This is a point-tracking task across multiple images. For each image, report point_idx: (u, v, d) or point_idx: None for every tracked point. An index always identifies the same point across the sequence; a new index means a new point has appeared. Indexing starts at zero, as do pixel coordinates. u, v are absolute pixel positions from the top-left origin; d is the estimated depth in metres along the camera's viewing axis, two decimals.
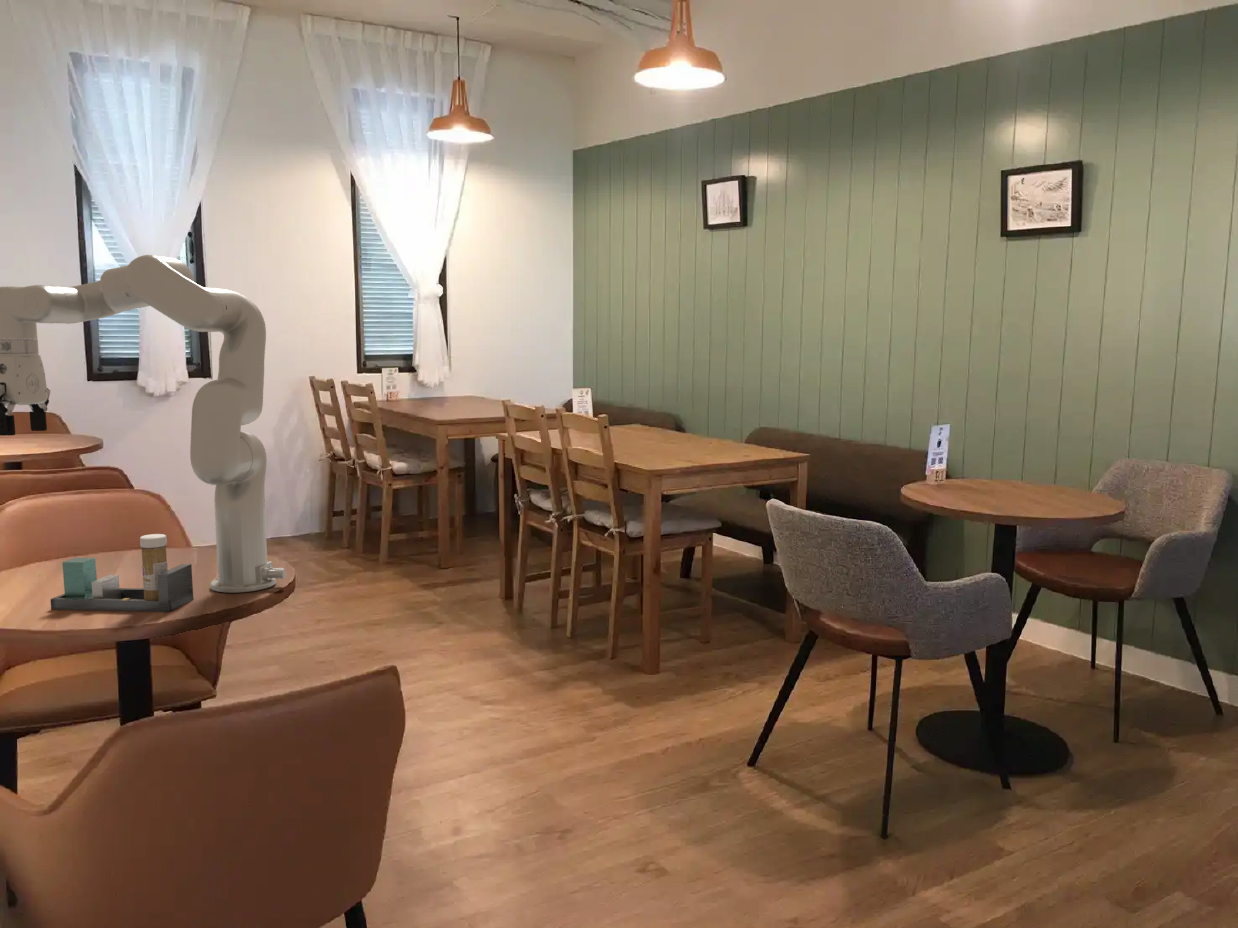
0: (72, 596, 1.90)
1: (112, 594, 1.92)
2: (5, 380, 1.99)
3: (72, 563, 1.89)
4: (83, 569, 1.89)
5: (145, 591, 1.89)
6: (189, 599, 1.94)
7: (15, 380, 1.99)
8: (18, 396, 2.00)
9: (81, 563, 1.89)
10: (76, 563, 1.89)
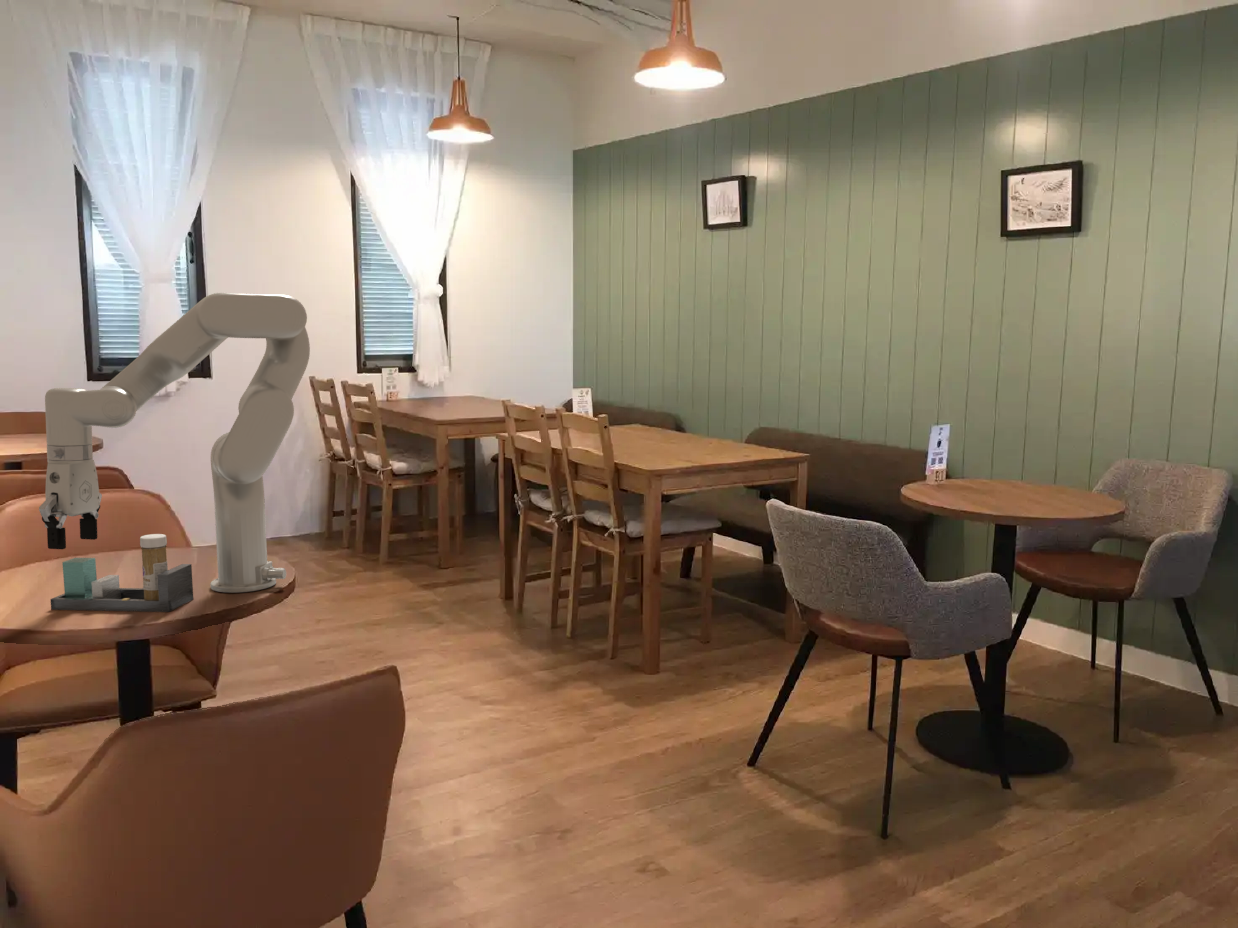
0: (72, 596, 1.90)
1: (112, 594, 1.92)
2: (57, 490, 1.84)
3: (72, 563, 1.89)
4: (83, 569, 1.89)
5: (145, 591, 1.89)
6: (189, 599, 1.94)
7: (68, 490, 1.85)
8: (70, 507, 1.85)
9: (81, 563, 1.89)
10: (76, 563, 1.89)
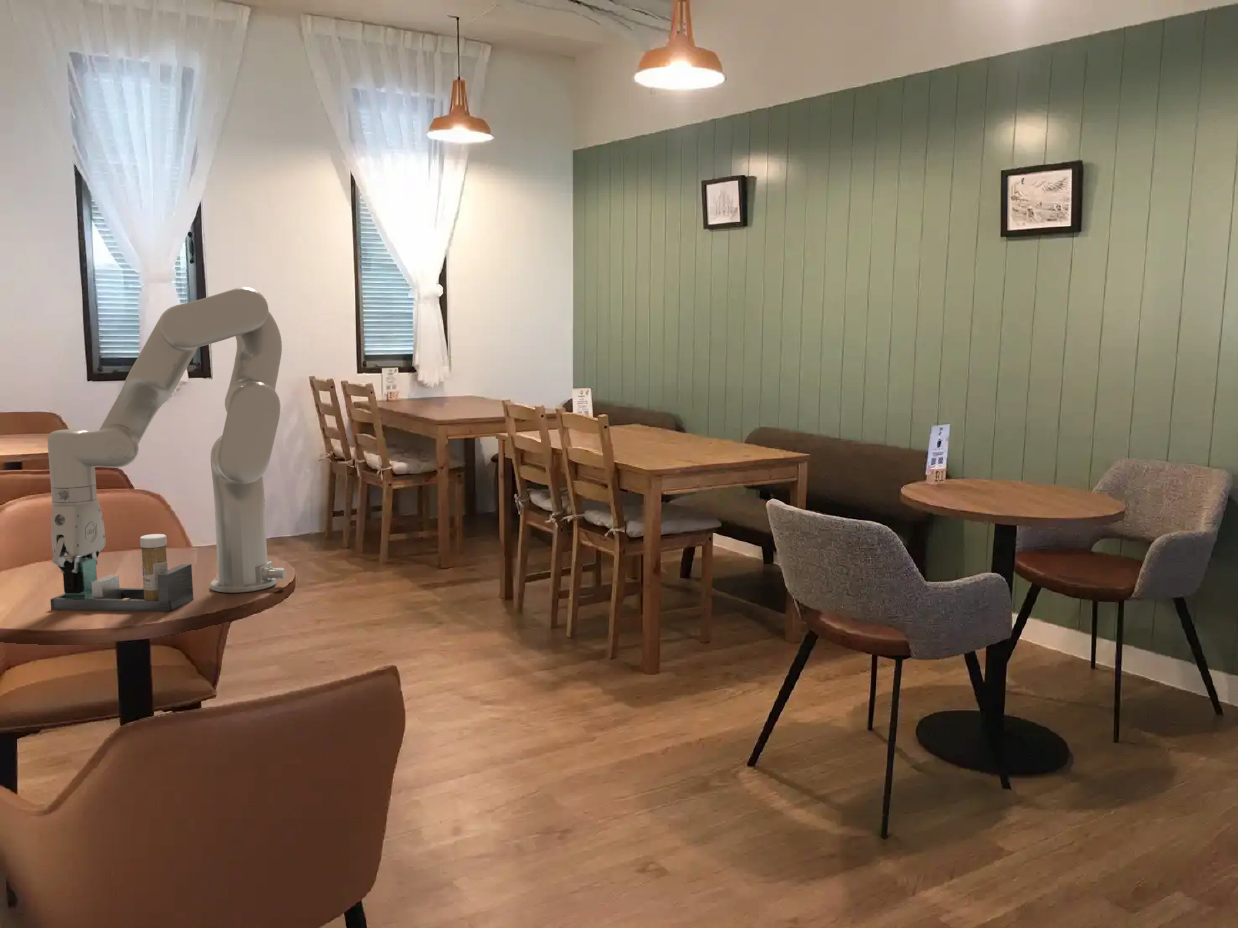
0: (72, 596, 1.90)
1: (112, 594, 1.92)
2: (63, 532, 1.85)
3: None
4: (83, 569, 1.89)
5: (145, 591, 1.89)
6: (189, 599, 1.94)
7: (74, 532, 1.86)
8: (77, 548, 1.86)
9: (81, 563, 1.89)
10: None
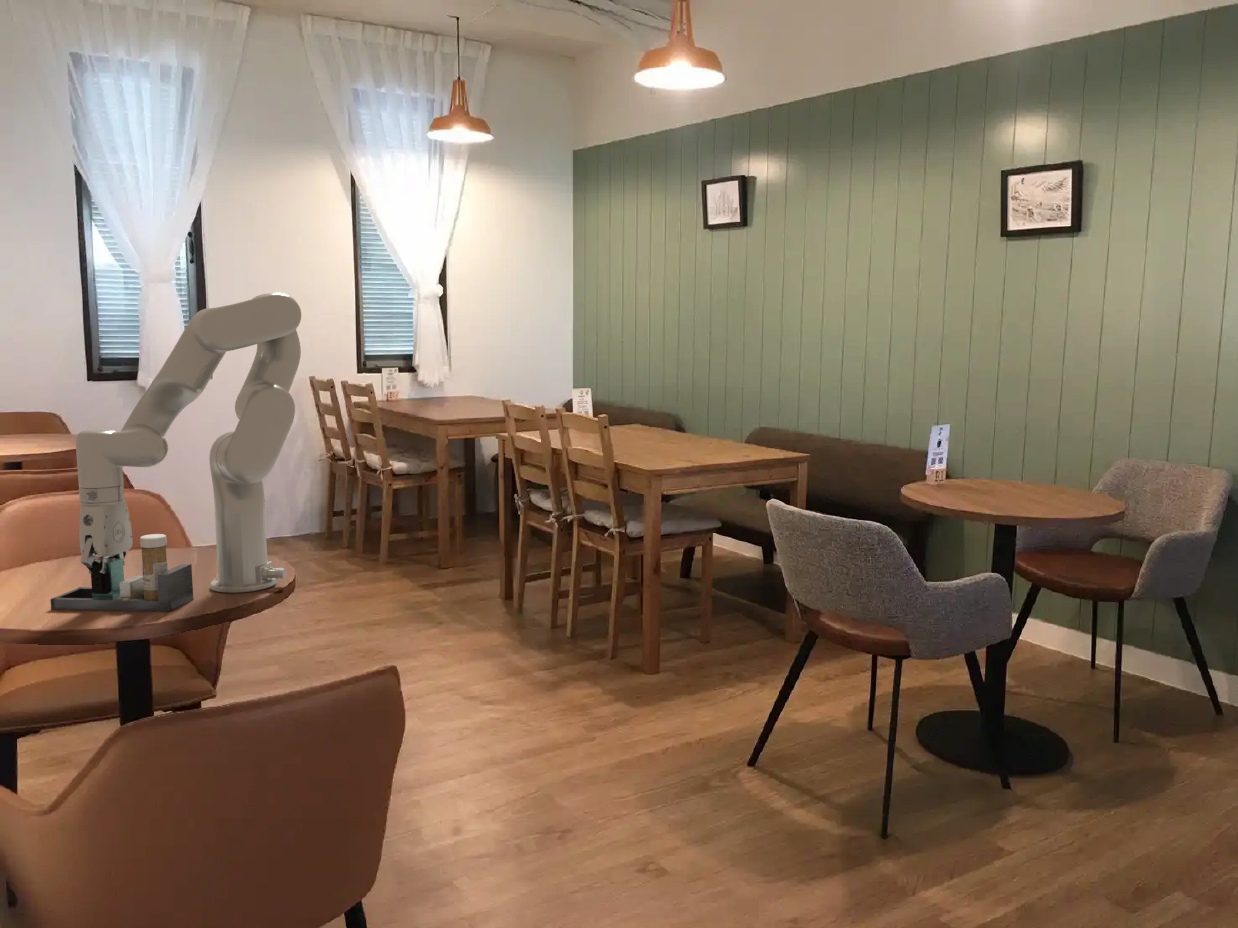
0: (100, 597, 1.90)
1: (140, 595, 1.92)
2: (91, 532, 1.85)
3: None
4: (111, 570, 1.89)
5: (145, 591, 1.89)
6: (189, 599, 1.94)
7: (102, 532, 1.85)
8: (105, 549, 1.86)
9: (109, 563, 1.89)
10: None
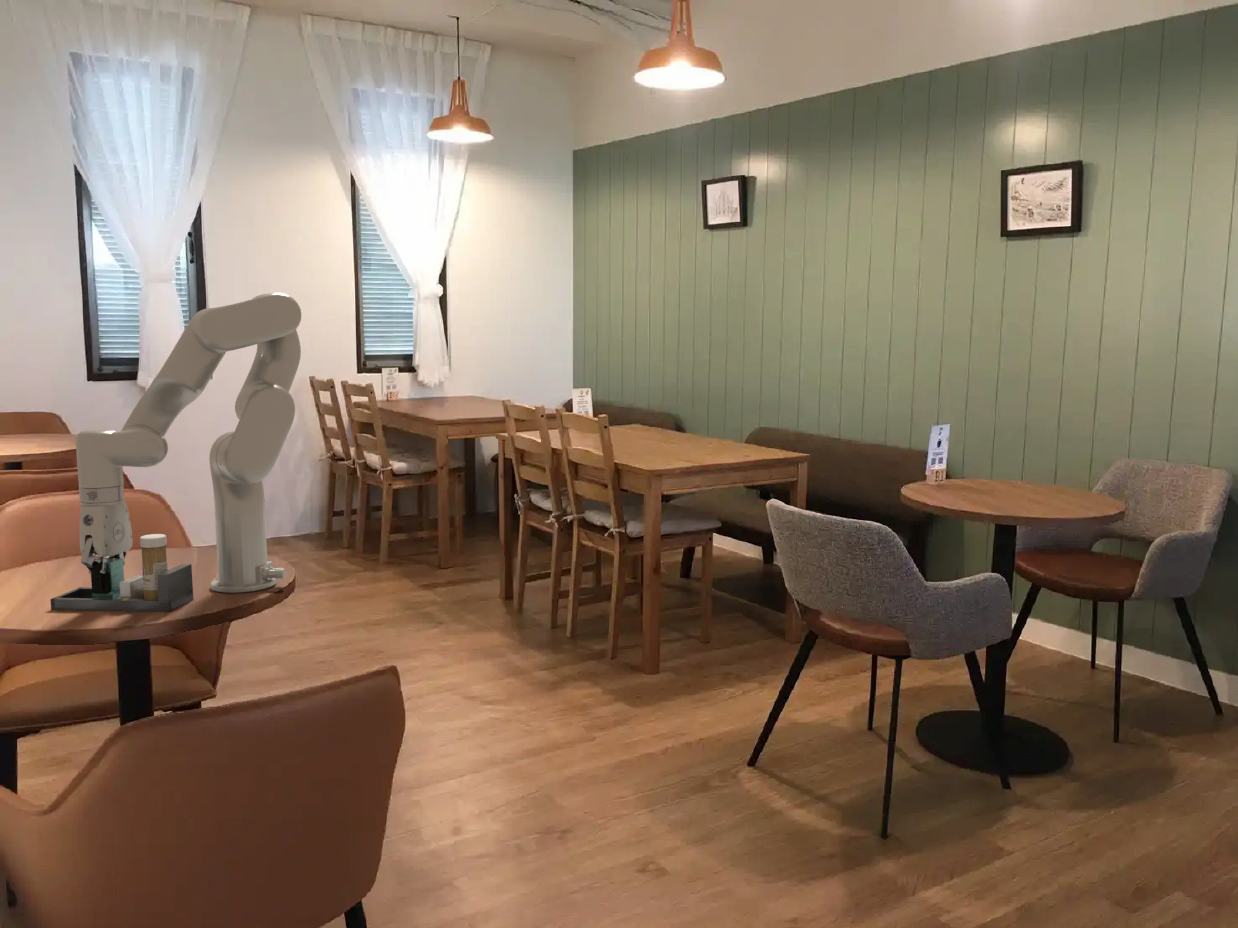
0: (100, 597, 1.90)
1: (140, 595, 1.92)
2: (91, 532, 1.85)
3: None
4: (111, 570, 1.89)
5: (145, 591, 1.89)
6: (189, 599, 1.94)
7: (102, 532, 1.85)
8: (105, 549, 1.86)
9: (109, 563, 1.89)
10: None
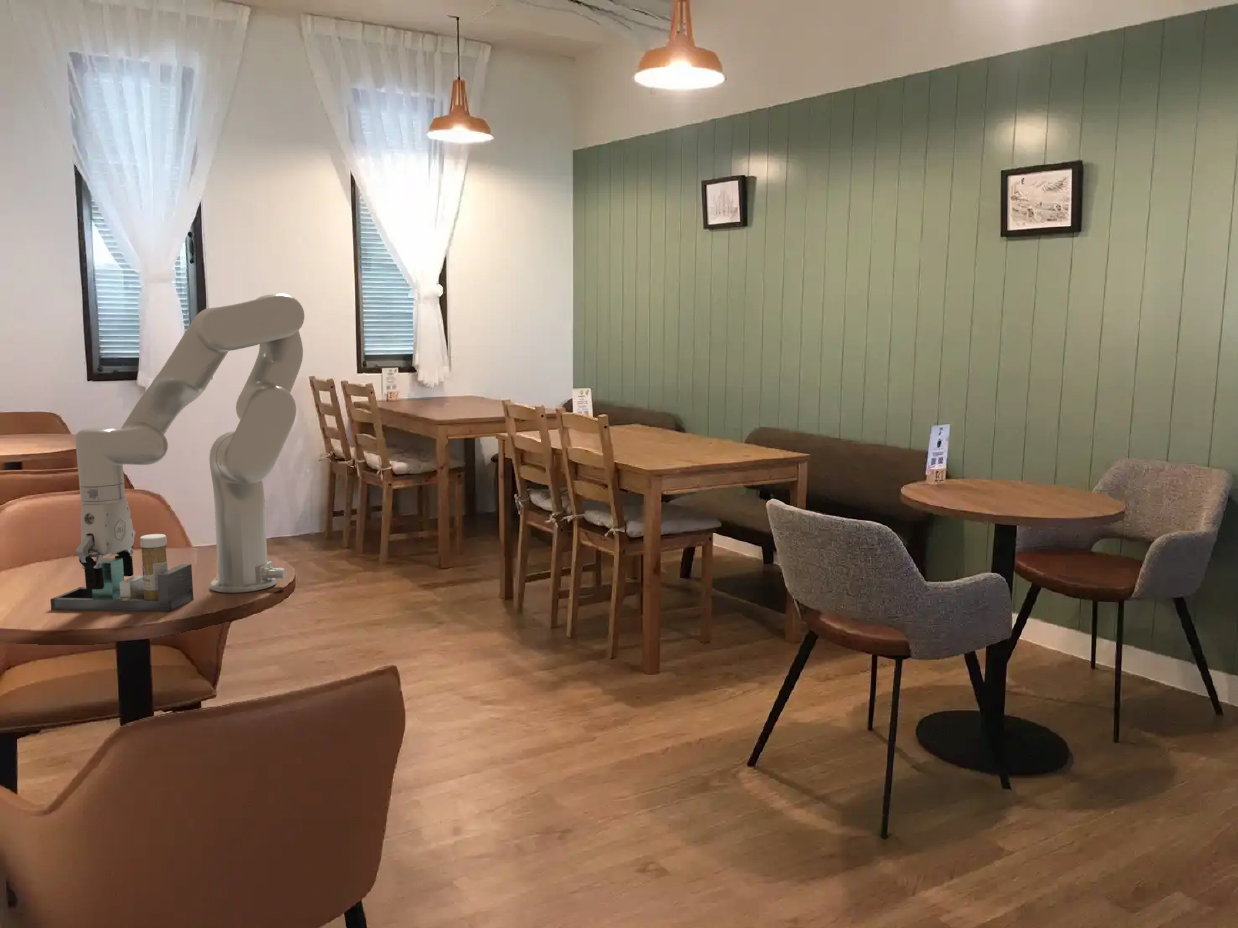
0: (100, 597, 1.90)
1: (140, 595, 1.92)
2: (93, 531, 1.85)
3: None
4: (111, 570, 1.89)
5: (145, 591, 1.89)
6: (189, 599, 1.94)
7: (103, 530, 1.85)
8: (107, 547, 1.86)
9: (109, 563, 1.89)
10: (104, 563, 1.89)
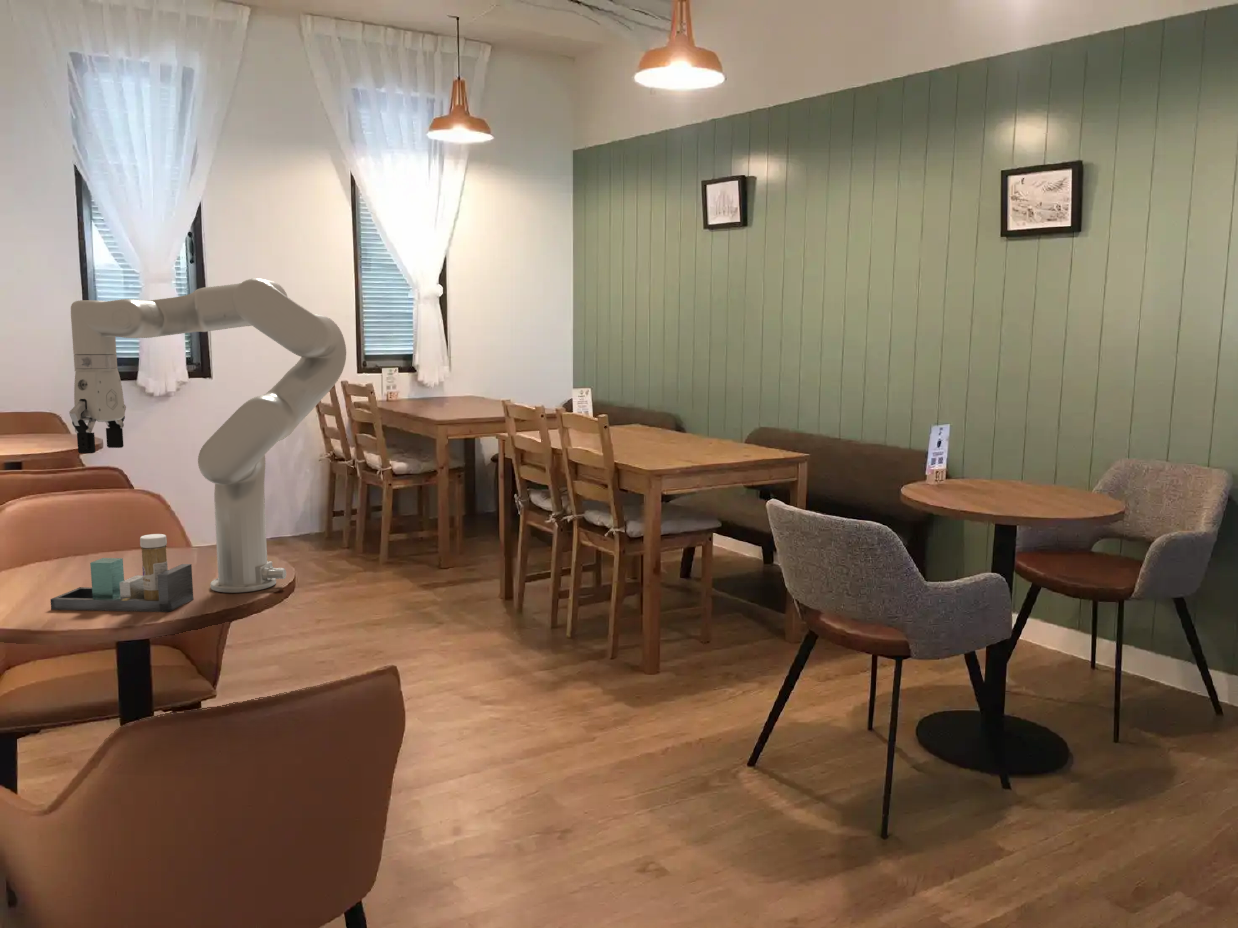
0: (100, 597, 1.90)
1: (140, 595, 1.92)
2: (86, 396, 1.94)
3: (100, 563, 1.89)
4: (111, 570, 1.89)
5: (145, 591, 1.89)
6: (189, 599, 1.94)
7: (96, 396, 1.94)
8: (99, 413, 1.95)
9: (109, 563, 1.89)
10: (104, 563, 1.89)
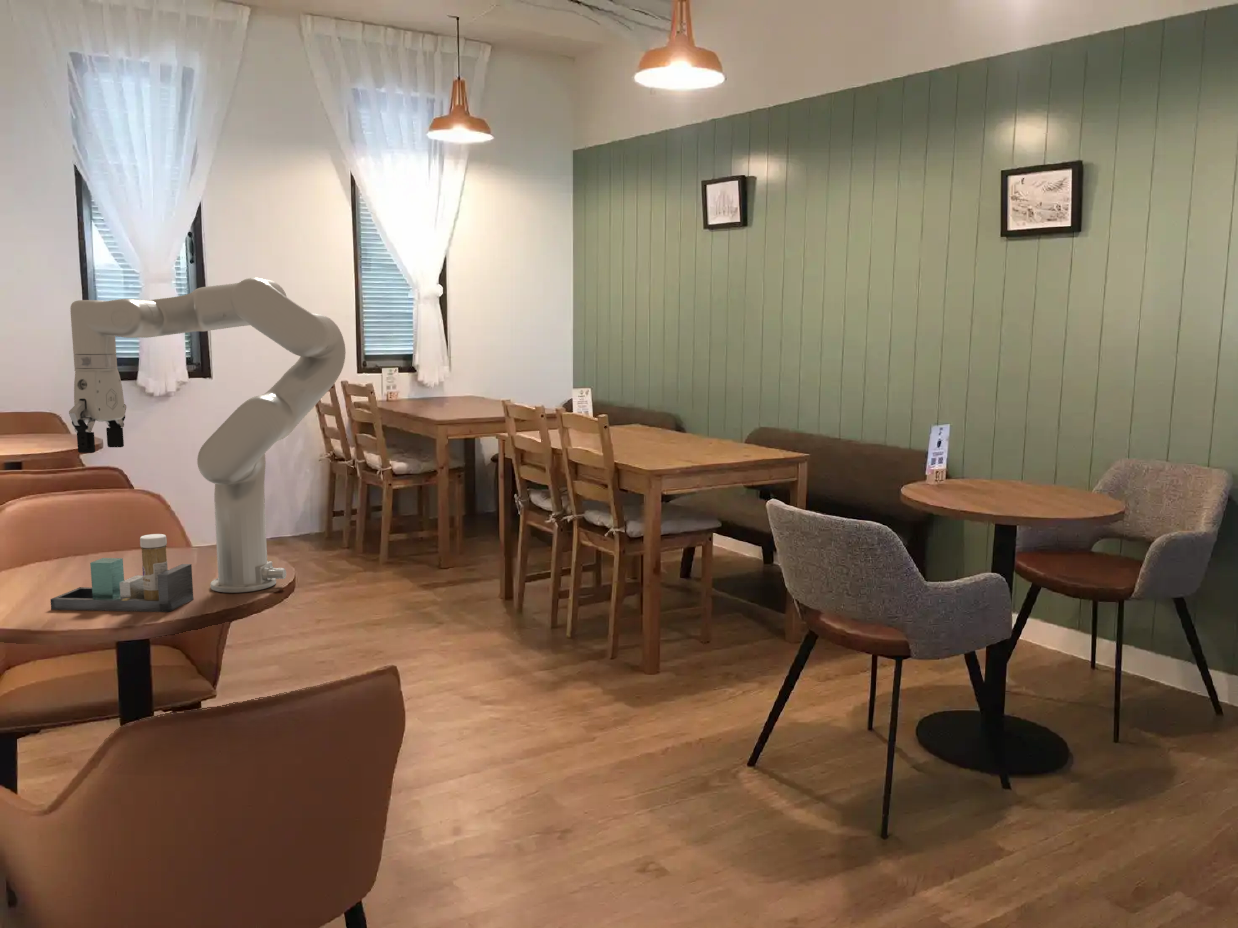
0: (100, 597, 1.90)
1: (140, 595, 1.92)
2: (85, 396, 1.94)
3: (100, 563, 1.89)
4: (111, 570, 1.89)
5: (145, 591, 1.89)
6: (189, 599, 1.94)
7: (95, 396, 1.94)
8: (98, 412, 1.95)
9: (109, 563, 1.89)
10: (104, 563, 1.89)
